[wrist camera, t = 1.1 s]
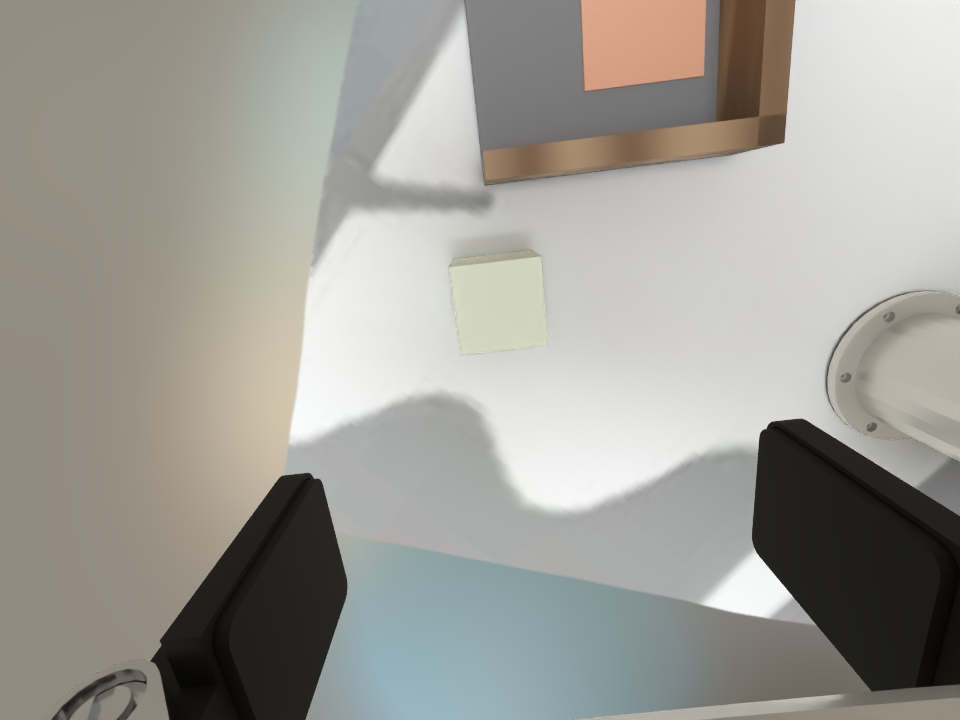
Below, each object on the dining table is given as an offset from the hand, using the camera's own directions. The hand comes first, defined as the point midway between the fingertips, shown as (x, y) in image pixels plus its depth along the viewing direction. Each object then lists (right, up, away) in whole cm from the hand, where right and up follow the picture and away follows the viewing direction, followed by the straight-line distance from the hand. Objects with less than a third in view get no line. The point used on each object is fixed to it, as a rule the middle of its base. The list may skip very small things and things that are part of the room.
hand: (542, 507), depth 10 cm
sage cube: (0, +8, +26) cm, 28 cm away
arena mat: (+7, +25, +21) cm, 34 cm away
